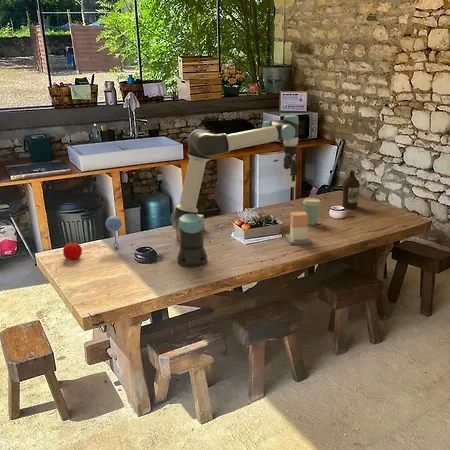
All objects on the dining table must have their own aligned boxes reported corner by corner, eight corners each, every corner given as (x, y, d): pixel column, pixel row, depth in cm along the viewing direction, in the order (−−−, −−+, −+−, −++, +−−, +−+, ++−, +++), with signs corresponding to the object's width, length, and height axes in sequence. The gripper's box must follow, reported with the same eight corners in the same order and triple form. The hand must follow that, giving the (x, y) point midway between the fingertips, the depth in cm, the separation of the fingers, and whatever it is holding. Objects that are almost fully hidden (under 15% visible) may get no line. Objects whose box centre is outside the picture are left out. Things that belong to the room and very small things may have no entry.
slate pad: (290, 244, 268) (290, 242, 268) (285, 236, 279) (285, 234, 279) (311, 243, 270) (312, 240, 269) (305, 235, 281) (305, 233, 280)
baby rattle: (104, 247, 269) (101, 216, 263) (117, 243, 275) (114, 212, 269) (114, 252, 263) (110, 220, 257) (127, 247, 269) (124, 215, 263)
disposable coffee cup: (302, 219, 306) (303, 196, 301) (320, 220, 304) (321, 197, 299) (301, 225, 297) (302, 201, 292) (319, 226, 295) (321, 202, 289)
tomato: (66, 263, 250) (64, 248, 247) (61, 257, 258) (59, 242, 255) (85, 259, 255) (83, 244, 252) (79, 253, 263) (77, 238, 260)
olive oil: (338, 205, 333) (341, 168, 324) (353, 204, 335) (356, 167, 326) (345, 210, 323) (348, 172, 314) (360, 208, 325) (363, 171, 316)
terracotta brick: (292, 228, 268) (293, 215, 266) (290, 224, 274) (290, 212, 272) (307, 227, 269) (307, 214, 267) (304, 223, 275) (304, 211, 272)
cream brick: (292, 239, 271) (293, 227, 268) (290, 236, 276) (290, 224, 274) (306, 239, 272) (307, 227, 269) (303, 235, 277) (304, 223, 275)
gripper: (303, 149, 252) (302, 189, 259) (291, 140, 275) (290, 177, 282) (289, 149, 251) (288, 190, 258) (278, 141, 274) (277, 178, 281)
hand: (289, 183), depth 270 cm, fingers open, 13 cm apart
